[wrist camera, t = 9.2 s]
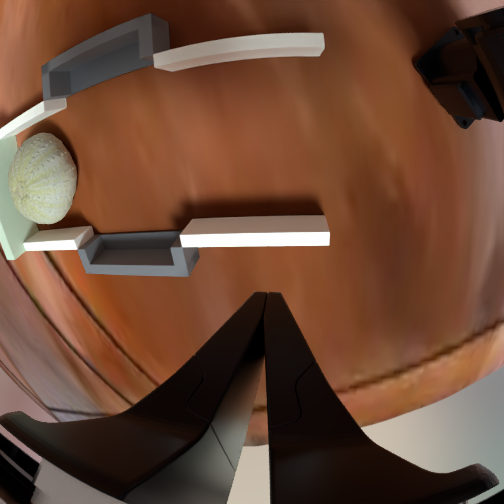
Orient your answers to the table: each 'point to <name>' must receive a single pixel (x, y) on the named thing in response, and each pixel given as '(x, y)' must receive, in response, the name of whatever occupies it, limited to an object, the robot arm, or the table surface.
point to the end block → (11, 207)
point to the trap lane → (198, 230)
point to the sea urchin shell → (42, 179)
